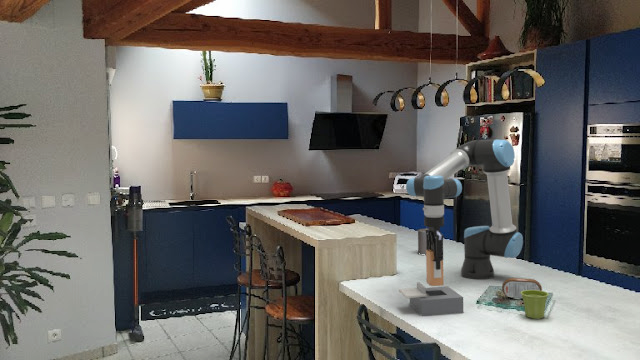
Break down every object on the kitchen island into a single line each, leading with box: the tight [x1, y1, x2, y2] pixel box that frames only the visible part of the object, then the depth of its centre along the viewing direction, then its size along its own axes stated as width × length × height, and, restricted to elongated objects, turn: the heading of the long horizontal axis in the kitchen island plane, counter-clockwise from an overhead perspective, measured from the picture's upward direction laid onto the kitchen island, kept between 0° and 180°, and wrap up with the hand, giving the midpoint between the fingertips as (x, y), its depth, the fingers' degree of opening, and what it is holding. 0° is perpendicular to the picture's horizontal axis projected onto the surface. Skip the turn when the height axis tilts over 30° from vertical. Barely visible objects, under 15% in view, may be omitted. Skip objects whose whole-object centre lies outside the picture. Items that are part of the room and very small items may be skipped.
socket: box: [409, 285, 464, 317], centre depth 218 cm, size 16×16×6 cm
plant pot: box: [521, 290, 550, 320], centre depth 204 cm, size 9×9×9 cm
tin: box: [501, 277, 543, 298], centre depth 226 cm, size 15×3×8 cm, turn 71°
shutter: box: [398, 282, 427, 299], centre depth 216 cm, size 8×10×3 cm
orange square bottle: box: [425, 244, 444, 287], centre depth 217 cm, size 5×5×16 cm
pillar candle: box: [417, 227, 428, 255], centre depth 317 cm, size 10×10×15 cm
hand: (434, 275), depth 217 cm, fingers closed on orange square bottle, 5 cm apart
